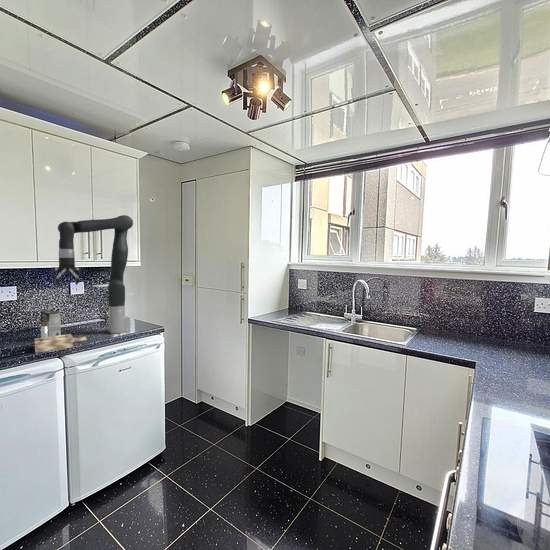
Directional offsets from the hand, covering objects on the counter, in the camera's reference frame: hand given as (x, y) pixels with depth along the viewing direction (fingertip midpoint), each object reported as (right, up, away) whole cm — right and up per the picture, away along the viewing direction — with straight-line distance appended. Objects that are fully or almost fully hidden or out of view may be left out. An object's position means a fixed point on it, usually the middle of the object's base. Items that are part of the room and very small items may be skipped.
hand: (67, 284), depth 174 cm
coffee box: (-12, -32, +3) cm, 34 cm away
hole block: (+2, -33, -13) cm, 36 cm away
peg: (-1, -33, -15) cm, 37 cm away
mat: (+5, -32, +2) cm, 33 cm away
